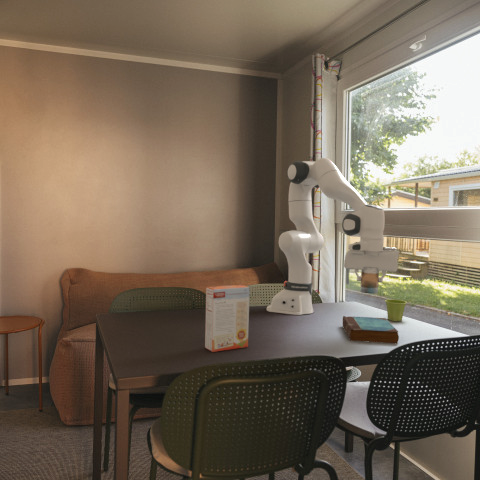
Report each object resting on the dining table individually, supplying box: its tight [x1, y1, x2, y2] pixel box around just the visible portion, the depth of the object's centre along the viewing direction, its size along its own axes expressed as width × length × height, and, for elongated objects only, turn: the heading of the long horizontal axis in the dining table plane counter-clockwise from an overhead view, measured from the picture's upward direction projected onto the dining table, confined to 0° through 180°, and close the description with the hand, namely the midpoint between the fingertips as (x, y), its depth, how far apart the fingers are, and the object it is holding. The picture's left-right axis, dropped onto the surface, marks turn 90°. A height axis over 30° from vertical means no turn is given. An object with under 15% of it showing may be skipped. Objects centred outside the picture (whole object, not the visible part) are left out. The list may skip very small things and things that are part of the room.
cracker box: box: [204, 284, 251, 353], centre depth 152 cm, size 14×6×21 cm, turn 121°
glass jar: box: [359, 267, 380, 295], centre depth 176 cm, size 7×7×10 cm
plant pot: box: [384, 299, 407, 322], centre depth 206 cm, size 9×9×9 cm
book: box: [342, 315, 400, 345], centre depth 177 cm, size 23×18×5 cm
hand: (369, 281), depth 176 cm, fingers closed on glass jar, 7 cm apart
